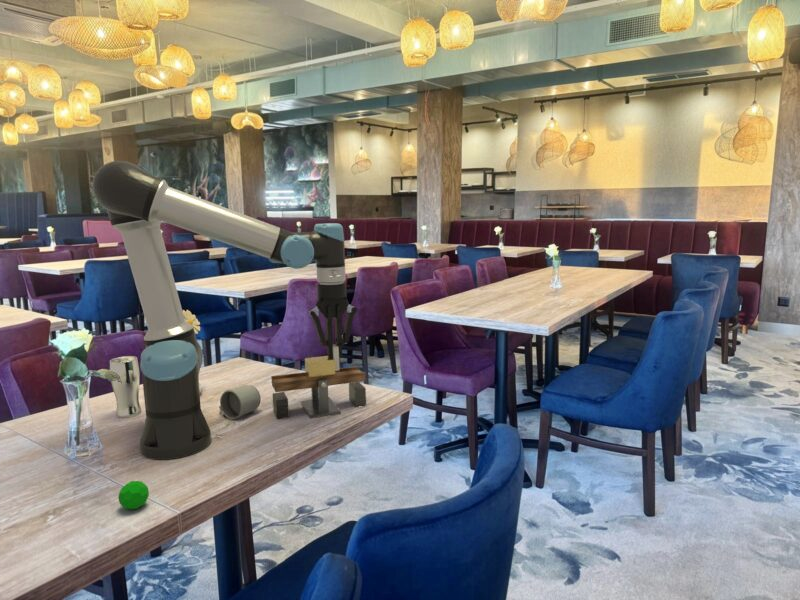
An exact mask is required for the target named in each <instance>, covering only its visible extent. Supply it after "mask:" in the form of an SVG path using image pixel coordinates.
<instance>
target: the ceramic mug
mask: <svg viewBox="0 0 800 600" xmlns="http://www.w3.org/2000/svg"><path fill="white" fill-rule="evenodd" d="M219 399H220V400H219V403H220V405H219V407H218V408H219V411H220V412H221V413H223V415H224V416H225V417H226V418H228V419H230V420H236V419H237V420H238V419H239V418H241V417H243V416H246V415H247V414H250V413H252V412H254V411H256V410H257V409H258V408H259V406H260V404H261V402H262V401H261V399H262V397H261V394H260V392H259V390H258V388H256V387H255V386H253V385H250V384H247V385H242V386H241V385H240V386H238V387H235V388H229V389H227V390H226V391H224V392H223V393H221V396H220V398H219Z"/></svg>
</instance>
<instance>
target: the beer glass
mask: <svg viewBox="0 0 800 600" xmlns="http://www.w3.org/2000/svg"><path fill="white" fill-rule="evenodd" d="M110 371H113V372H115V373H117V374H118V375H119V376H120V379H121V381H122V383H121V382H118V381H111V380H110V382H111V387H112V390H113V394H114V397H115V400H116V401H115V402H116V411H115V412H116V413H115V416H116V417H117V418H121V419H123V418H125V419H126V418H132V417H136V416H138V415H141V413H142V408H141V405H140V401H139V397H140V396H139V395H140V394H139V392H140V382H141V379H140V378H141V375H140V364H139V361H138V357H137V356H134V355H125V356H118V357H115V358H112V359H110V360H109V372H110Z"/></svg>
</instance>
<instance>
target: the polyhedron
mask: <svg viewBox="0 0 800 600" xmlns="http://www.w3.org/2000/svg"><path fill="white" fill-rule="evenodd" d="M149 491H150V490H149V487H148V486H147V484H145V483H144V482H143V481H140V480H131V481H129V482H128V483H126V484H125V485H124V486H122V487H121V489H120V491H119V494H118V496H117V498H118V502H119V504H120V505H121V506H122V507H123V508H124V509H125V510H138V509H139V508H140V507H141V506H143V505H144V504H146V503H147V501H148V498H149V496H150V492H149ZM138 507H139V508H138Z"/></svg>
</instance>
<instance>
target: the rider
mask: <svg viewBox="0 0 800 600" xmlns="http://www.w3.org/2000/svg"><path fill="white" fill-rule="evenodd" d="M304 369H305V375H306V378H307V379H309V378H318V377H326V376H335V359H333V358H331V359H330V358H329V357H328V355H323V356H311V357H305V358H304Z"/></svg>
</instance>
